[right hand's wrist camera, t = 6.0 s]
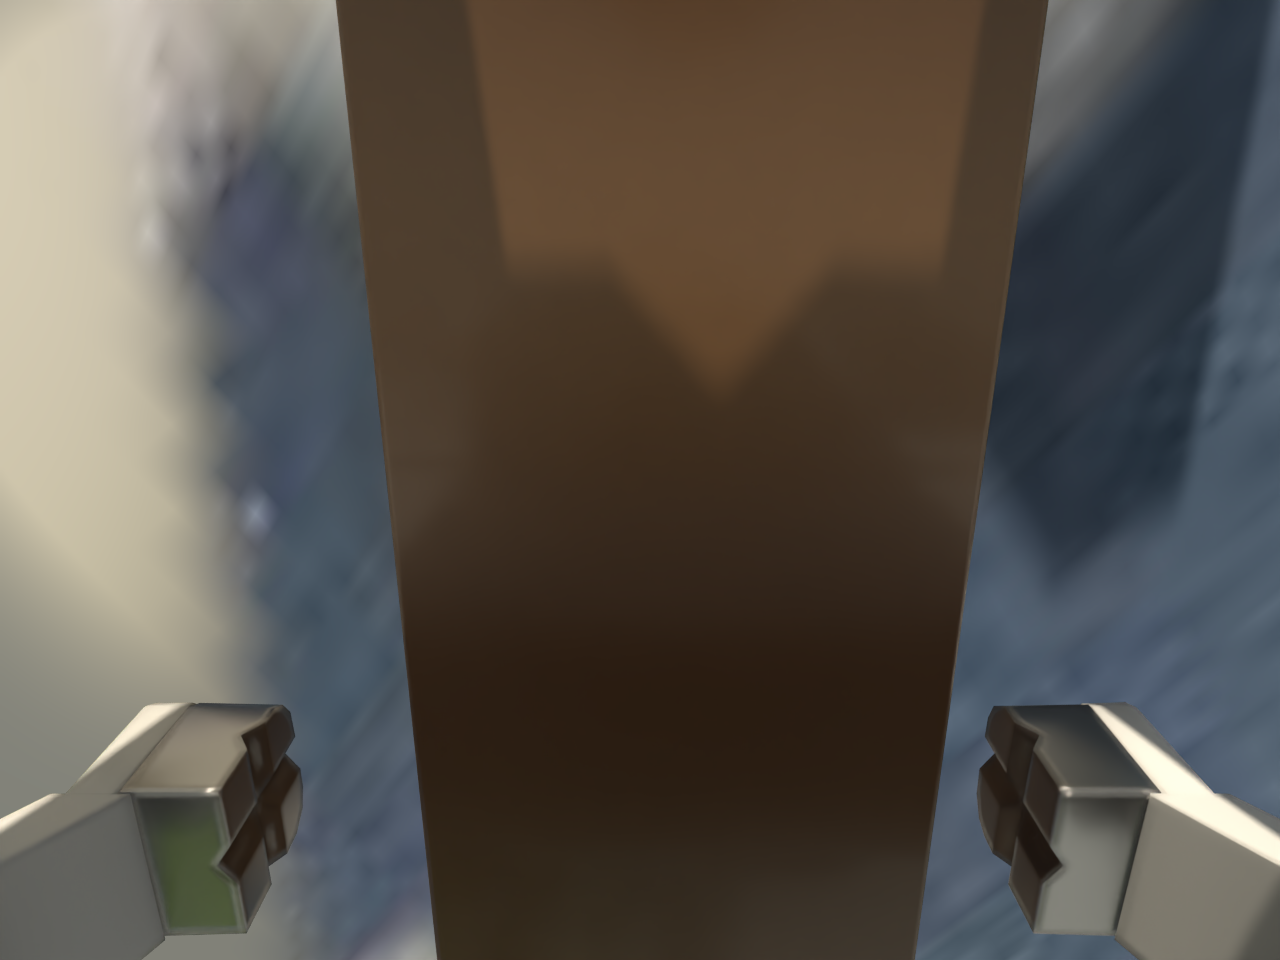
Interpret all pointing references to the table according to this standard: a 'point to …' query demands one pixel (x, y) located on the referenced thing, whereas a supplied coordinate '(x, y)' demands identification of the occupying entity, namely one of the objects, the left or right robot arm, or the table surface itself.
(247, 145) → the table surface
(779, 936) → the bar
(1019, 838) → the right robot arm
